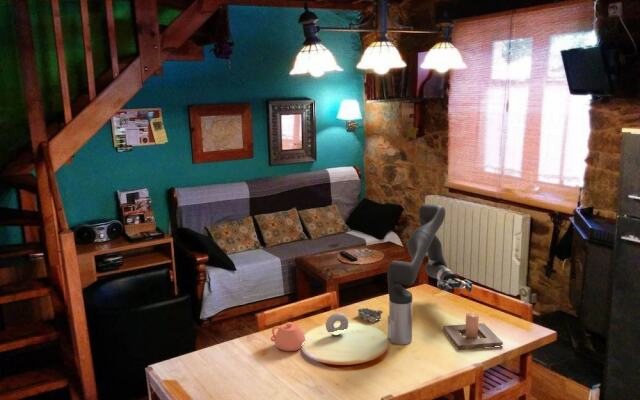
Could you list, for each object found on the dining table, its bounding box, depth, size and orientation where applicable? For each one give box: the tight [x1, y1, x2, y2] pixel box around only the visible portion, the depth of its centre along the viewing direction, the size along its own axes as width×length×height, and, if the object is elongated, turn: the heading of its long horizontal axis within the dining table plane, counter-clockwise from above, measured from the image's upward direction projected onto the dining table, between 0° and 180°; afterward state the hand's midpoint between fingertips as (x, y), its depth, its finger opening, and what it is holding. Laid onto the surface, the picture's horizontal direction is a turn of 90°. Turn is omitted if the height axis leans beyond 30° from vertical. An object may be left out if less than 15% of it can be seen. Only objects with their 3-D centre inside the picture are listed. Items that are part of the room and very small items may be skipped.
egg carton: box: [356, 307, 384, 323], centre depth 236 cm, size 11×8×4 cm
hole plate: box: [442, 322, 504, 351], centre depth 214 cm, size 18×18×2 cm
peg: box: [464, 312, 480, 339], centre depth 214 cm, size 5×5×10 cm
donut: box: [325, 312, 349, 333], centre depth 219 cm, size 10×4×10 cm, turn 109°
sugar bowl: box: [270, 321, 306, 352], centre depth 210 cm, size 12×14×10 cm
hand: (460, 290), depth 223 cm, fingers open, 8 cm apart
